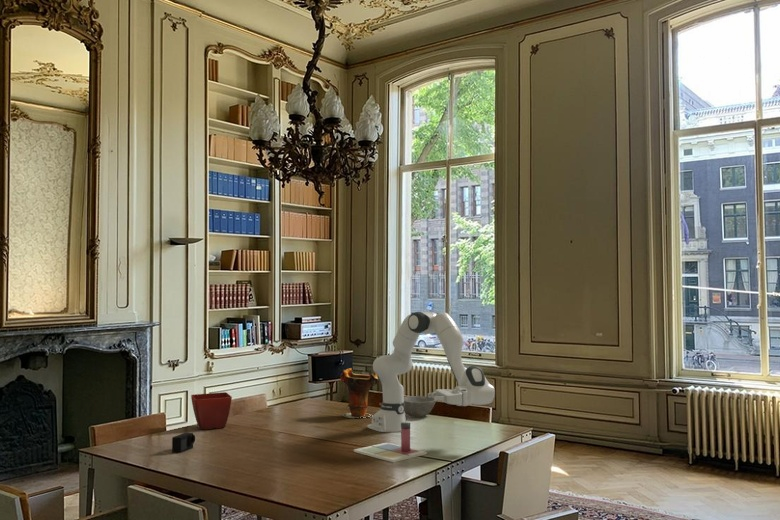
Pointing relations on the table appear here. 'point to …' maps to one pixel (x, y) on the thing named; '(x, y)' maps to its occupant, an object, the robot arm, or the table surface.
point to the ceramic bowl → (418, 405)
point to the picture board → (389, 452)
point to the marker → (405, 437)
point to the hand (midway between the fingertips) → (431, 396)
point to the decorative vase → (358, 391)
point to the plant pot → (211, 409)
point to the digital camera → (182, 442)
